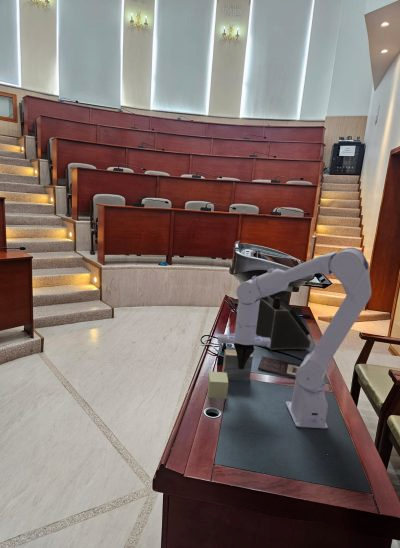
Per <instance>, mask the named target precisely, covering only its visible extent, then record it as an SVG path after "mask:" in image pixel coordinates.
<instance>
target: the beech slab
mask: <svg viewBox="0 0 400 548" xmlns="http://www.w3.org/2000/svg"><path fill="white" fill-rule="evenodd" d="M223 352H224V353H223V354H224V355H223V363H222V372H223V373H227V377H228V381H229V380H230V381H231V380H232V381H246V382H249V381H250V380H251V375H252V374H251V372H252V366H253V360H254V359H253V358H254V355H253V353H252V354H251V355H250V357H249V358H248V360H247V362H246V364H245V366H244V369H239V368H238V358H237V353H236V350H235V349H224V351H223Z"/></svg>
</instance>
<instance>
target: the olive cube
mask: <svg viewBox="0 0 400 548" xmlns="http://www.w3.org/2000/svg"><path fill="white" fill-rule="evenodd" d="M207 377H208V378H207V387H206V388H207V398H209V399H224V400H225V399H227V397H228V391H229V380H228V377H227V373H223V372H221V371H208V376H207Z"/></svg>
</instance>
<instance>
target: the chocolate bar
mask: <svg viewBox="0 0 400 548" xmlns="http://www.w3.org/2000/svg"><path fill="white" fill-rule="evenodd" d="M300 365H301V364H297V363H294V362H293V363H292V362H289V361H285V360H281V359H276V358H271V357H267V356H262V357H261V359H260V362H259V365H258V366H257V370H258V371H263V372H265V373H270V374H274V375H278V376H282V377H287V378H291V379H295V380H296V377H295V374H296V371H297V369H298V368H299V367H300Z"/></svg>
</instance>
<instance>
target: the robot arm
mask: <svg viewBox="0 0 400 548" xmlns="http://www.w3.org/2000/svg"><path fill="white" fill-rule="evenodd" d="M315 274H322V275H325V276H330V275H331V274H332V275H333V276H334V277H335V278H336V279H337V280H338V281H339V282H340V283H341V286H342V288H343V290H344V292H345V298H344V299H343V301H342V302H341V303H340V305H339V307H338V309H337V311H336V312H335V314H334V316H332V319H331V320H330V322H329V324H328V326H327V327H326V329H325V331H324V333H323V334H322V336H321V337H320V339H319V341H318V342H317V343H316V346H315V347H314V349H313V350H312V351H311V352H309V353H307V354H306V355H305V356H304V359H303V360H302V363H301V364H299V365H300V367H299V368H298V369H297V371H296V374H295V377H296V379H295V382H294V387H293V393H292V398H291V401H285V405H286V407H287V410H288V411H289V414H290V416H291V418H292V421H293V422H294V425H295V427H298V428H310V429H311V428H314V429H328V427H329V426H328V424H327V423H326V420H327V419H326V418H327V414H328V409H329V404H328V401H327V399H326V395H325V391H326V390H325V389H326V381H325V379H324V378H325V376H326V373H327V372H328V370H329V368H330V367H329V364H330V363H331V360H332V359H333V357H334V356H335V354H336V353H337V351H338V350H339V348H340V346H341V344H342V343H343V342H344V340H345V338H346V337H347V335H348V334H349V332H350V331H351V329H352V327H353V326H354V324H355V323H356V321H357V319H358V318H359V316H360V315H361V313H362V312H363V310H364V308H365V307H366V306H367V304H368V302H369V300H370V298H371V296H372V286H371V285H372V284H371V276H370V265H369V261H368V260H367V258H366V256H365V254H364V253H363V251H361V250H360V249H358V248H355V247H346V248H344V249H342V250H340V251H339V250H337V251H332V252H328V253H325V254H322V255H319V256H317V257H314V258H311V259H310V260H307V261H305V262H303V263H300V264H298V265H295V266H293V267H291V268H289V269H286V270H283V269H280V268H274V267H272V268H269V269H268V270H267V272H266V273H263V274H261V275H258V276H257V275H253V276H252V277H251V279H248V280H246V281H243V282H242V283H240V284H239V285H238V286H237V288H236V297H237V299H238V303H237V310H236V312H237V313H236V317H235V318H236V319H235V327H234V333H226V334H220V333H219V334H218V335H217V344H219V345H221V344H232V345H233V346H234V350H236V353H237V358H238V368H239V369H244V366H245V364H246V362H247V360H248V358H249V357H250V355H251V354H252V355H253V353H254V351H255V346H263V347H266V348H268V347H270V345H271V340H270V338H266V337H260V336H257V335H256V327H257V320H258V312H259V304H260V298H261V297H267V296H270V297H271V296H272V295H275V294H277V293H281V292H282V291H285V290H287V289H288V288H289V284H290V283H291V282H295V281H299V280H300V279H304V278H307V277H310V276H313V275H315Z"/></svg>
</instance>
